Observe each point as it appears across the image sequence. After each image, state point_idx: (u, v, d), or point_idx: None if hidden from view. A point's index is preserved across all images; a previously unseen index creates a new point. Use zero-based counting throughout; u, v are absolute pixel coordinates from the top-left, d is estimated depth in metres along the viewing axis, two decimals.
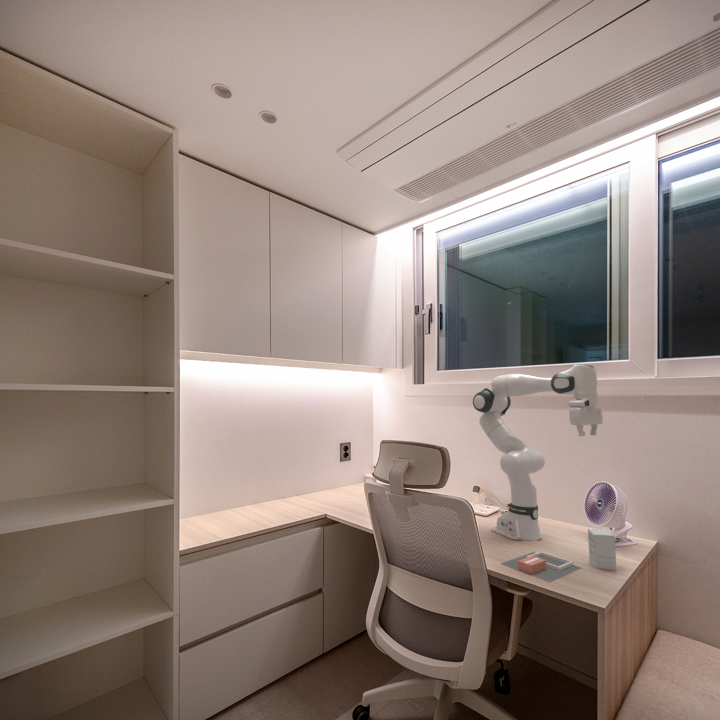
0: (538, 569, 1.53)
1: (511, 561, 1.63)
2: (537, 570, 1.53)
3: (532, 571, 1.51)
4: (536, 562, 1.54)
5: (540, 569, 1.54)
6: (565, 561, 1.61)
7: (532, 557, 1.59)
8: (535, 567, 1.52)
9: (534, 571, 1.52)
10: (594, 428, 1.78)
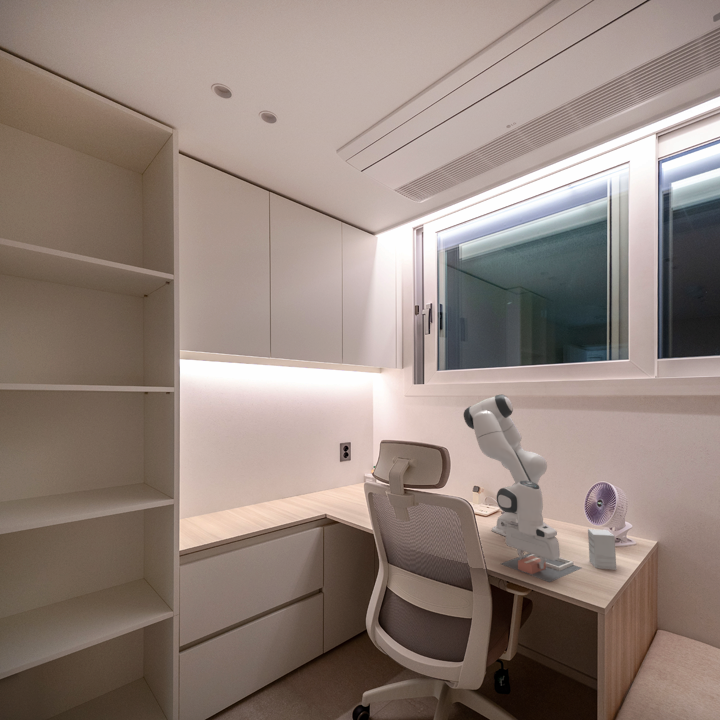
0: (538, 569, 1.53)
1: (511, 561, 1.63)
2: (537, 570, 1.53)
3: (532, 571, 1.51)
4: (536, 562, 1.54)
5: (539, 569, 1.54)
6: (565, 561, 1.61)
7: (532, 557, 1.59)
8: (535, 567, 1.52)
9: (534, 571, 1.52)
10: (522, 553, 1.59)
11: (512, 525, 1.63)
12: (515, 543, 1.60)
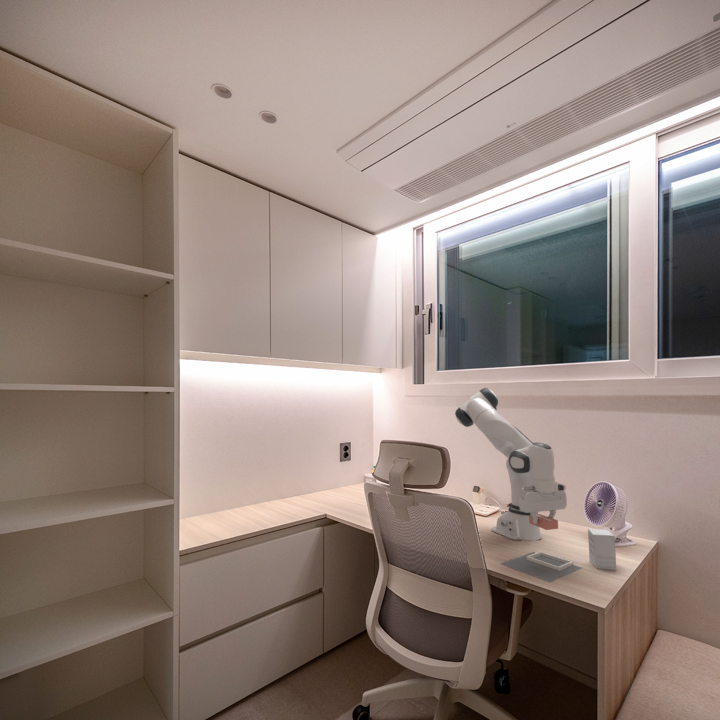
0: None
1: (511, 561, 1.63)
2: None
3: None
4: (548, 517, 1.63)
5: None
6: (565, 561, 1.61)
7: None
8: None
9: None
10: None
11: (527, 490, 1.60)
12: (534, 507, 1.59)
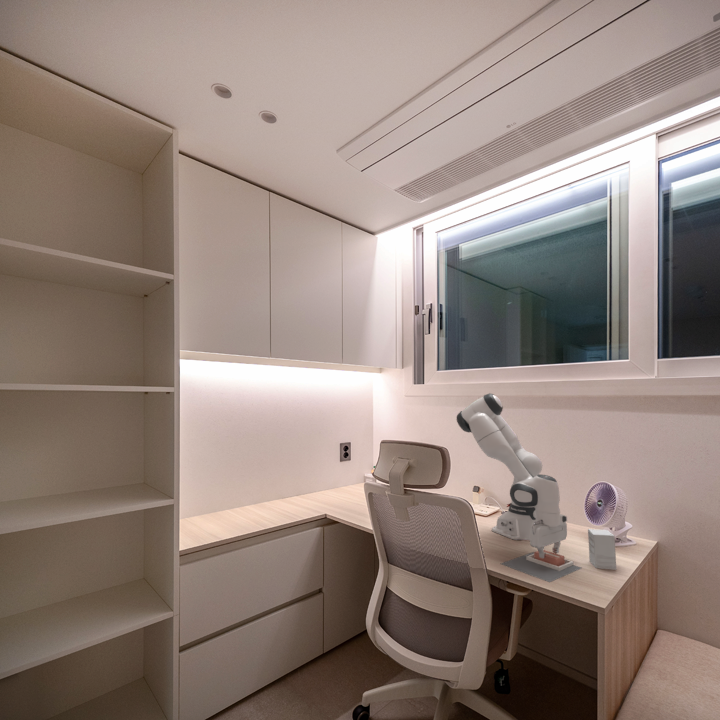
0: None
1: (511, 561, 1.63)
2: None
3: None
4: (552, 553, 1.63)
5: None
6: (565, 561, 1.61)
7: None
8: None
9: None
10: None
11: (537, 525, 1.59)
12: (544, 542, 1.58)
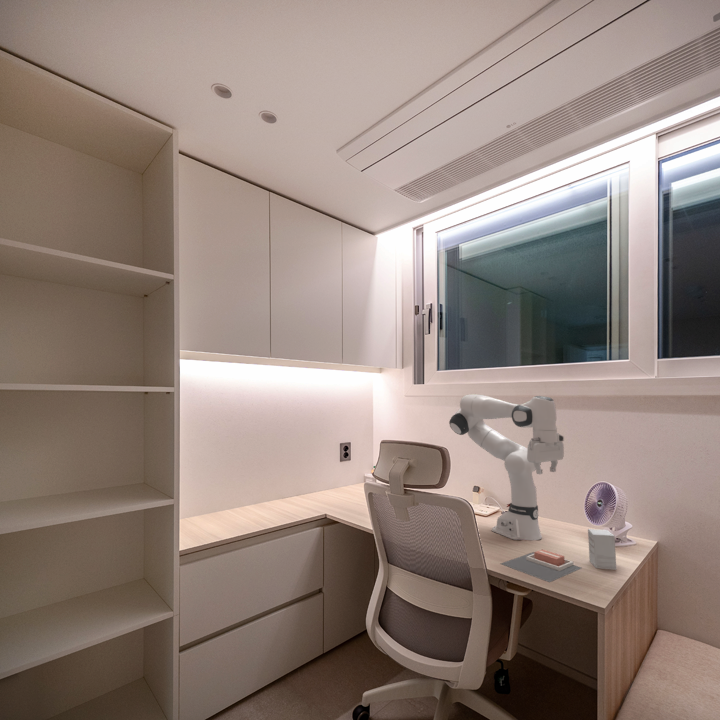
0: None
1: (511, 561, 1.63)
2: None
3: None
4: (552, 553, 1.63)
5: None
6: (565, 561, 1.61)
7: (539, 552, 1.64)
8: None
9: None
10: None
11: (534, 441, 1.62)
12: (541, 457, 1.61)
